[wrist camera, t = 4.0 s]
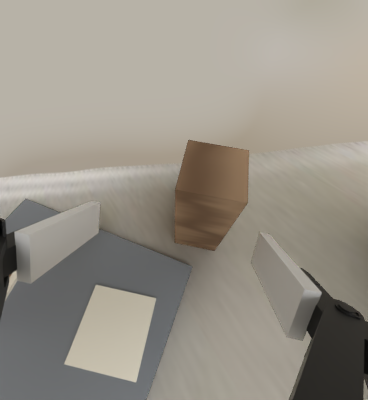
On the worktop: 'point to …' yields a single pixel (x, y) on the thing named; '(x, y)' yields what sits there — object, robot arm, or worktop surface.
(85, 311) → the board
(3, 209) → the worktop surface
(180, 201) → the post
